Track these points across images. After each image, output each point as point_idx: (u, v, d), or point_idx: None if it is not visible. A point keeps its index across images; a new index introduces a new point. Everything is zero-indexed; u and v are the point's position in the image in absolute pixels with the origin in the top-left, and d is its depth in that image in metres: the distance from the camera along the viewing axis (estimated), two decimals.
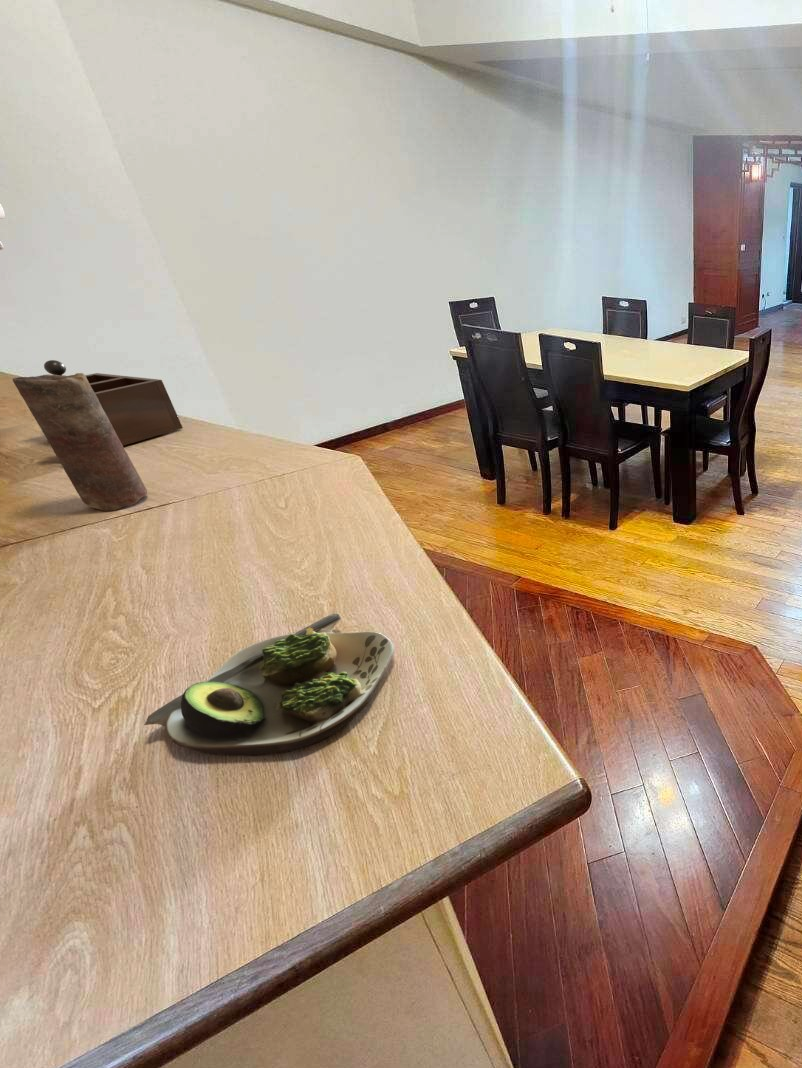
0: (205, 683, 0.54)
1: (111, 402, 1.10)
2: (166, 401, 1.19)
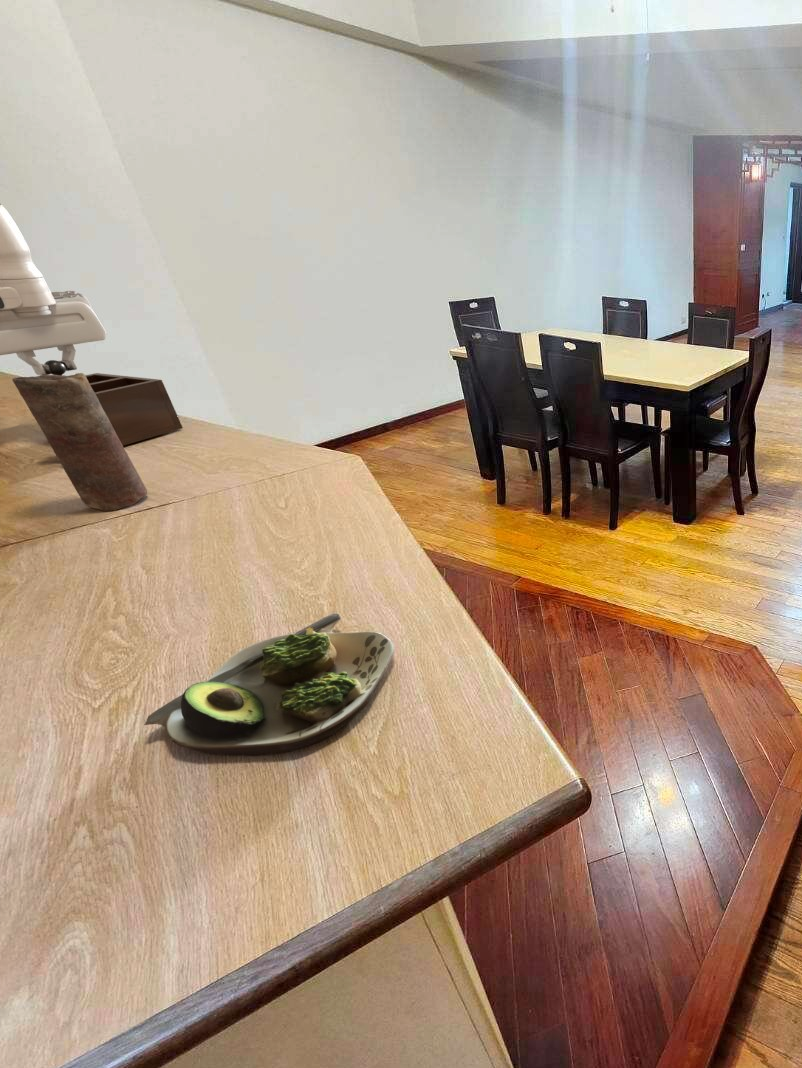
0: (205, 683, 0.54)
1: (111, 402, 1.10)
2: (166, 401, 1.19)
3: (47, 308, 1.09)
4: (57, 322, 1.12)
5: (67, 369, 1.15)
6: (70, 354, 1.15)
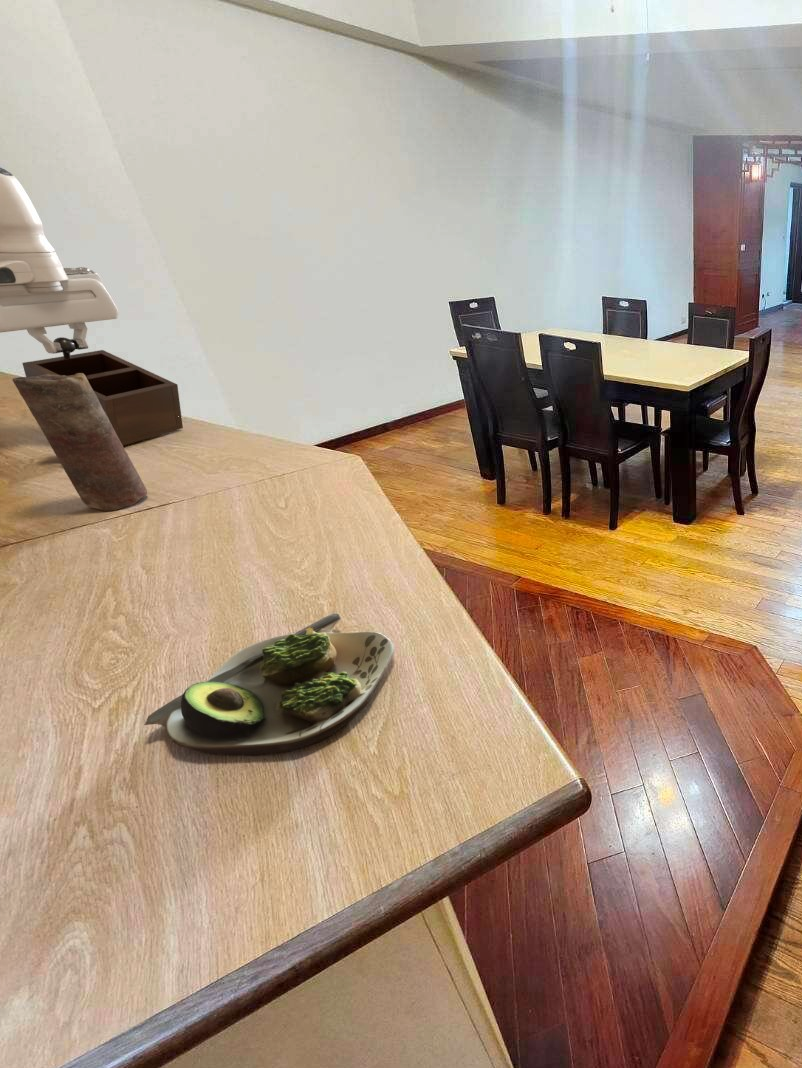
0: (205, 683, 0.54)
1: (124, 406, 1.10)
2: (175, 404, 1.19)
3: (59, 284, 1.06)
4: (69, 299, 1.09)
5: (78, 348, 1.12)
6: (82, 332, 1.12)
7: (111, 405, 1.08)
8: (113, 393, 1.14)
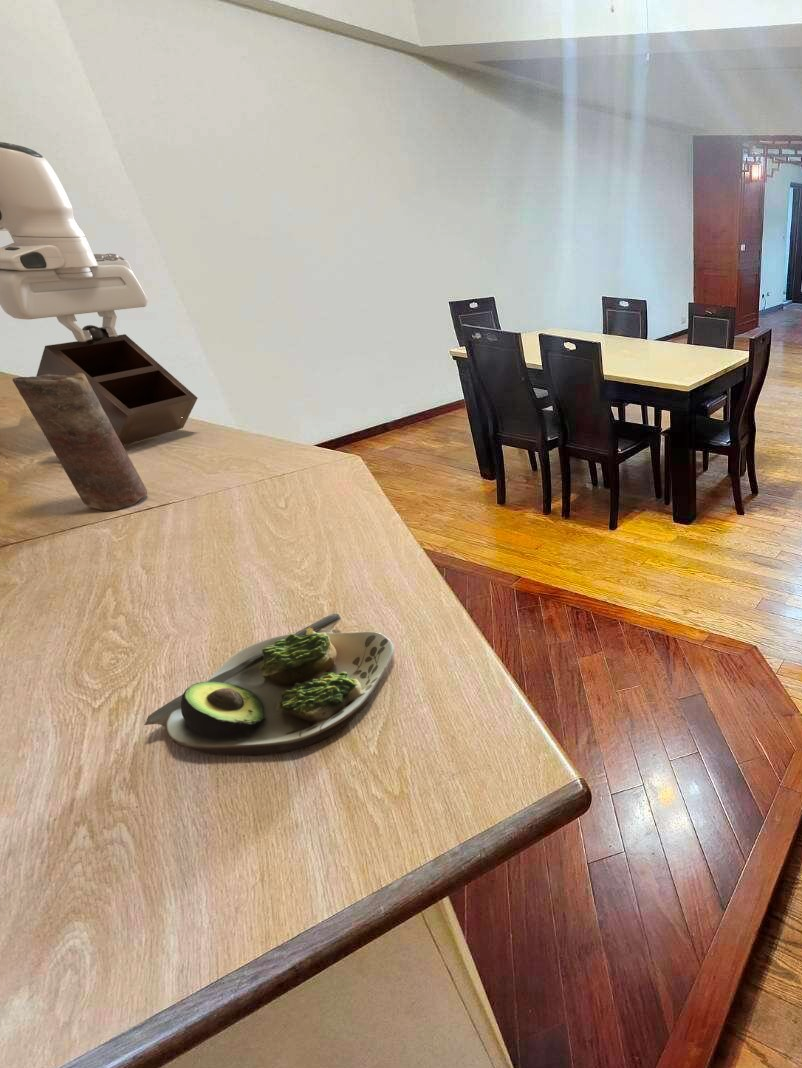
0: (205, 683, 0.54)
1: (142, 417, 1.11)
2: (187, 411, 1.19)
3: (89, 270, 1.04)
4: (98, 286, 1.06)
5: (108, 336, 1.09)
6: (111, 320, 1.09)
7: (131, 418, 1.08)
8: (127, 388, 1.13)
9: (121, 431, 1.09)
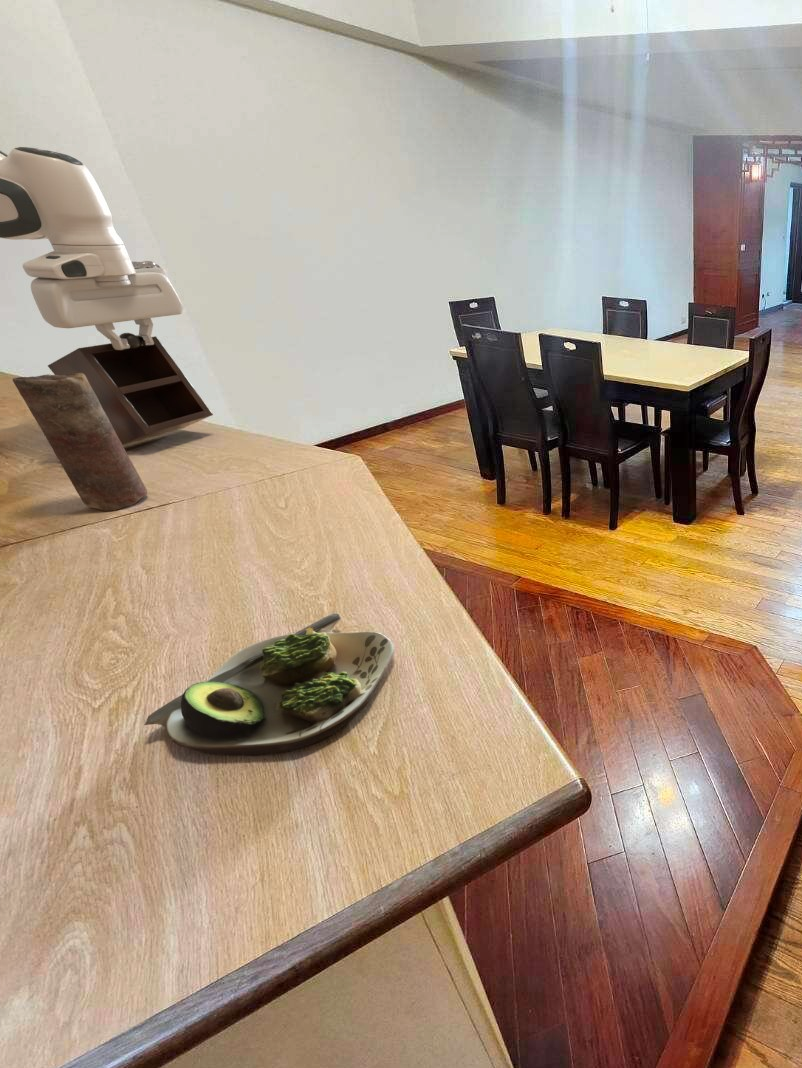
0: (205, 683, 0.54)
1: (156, 432, 1.12)
2: (196, 421, 1.20)
3: (127, 278, 1.03)
4: (136, 294, 1.05)
5: (144, 344, 1.08)
6: (148, 328, 1.08)
7: (147, 434, 1.10)
8: (144, 392, 1.13)
9: (130, 441, 1.10)
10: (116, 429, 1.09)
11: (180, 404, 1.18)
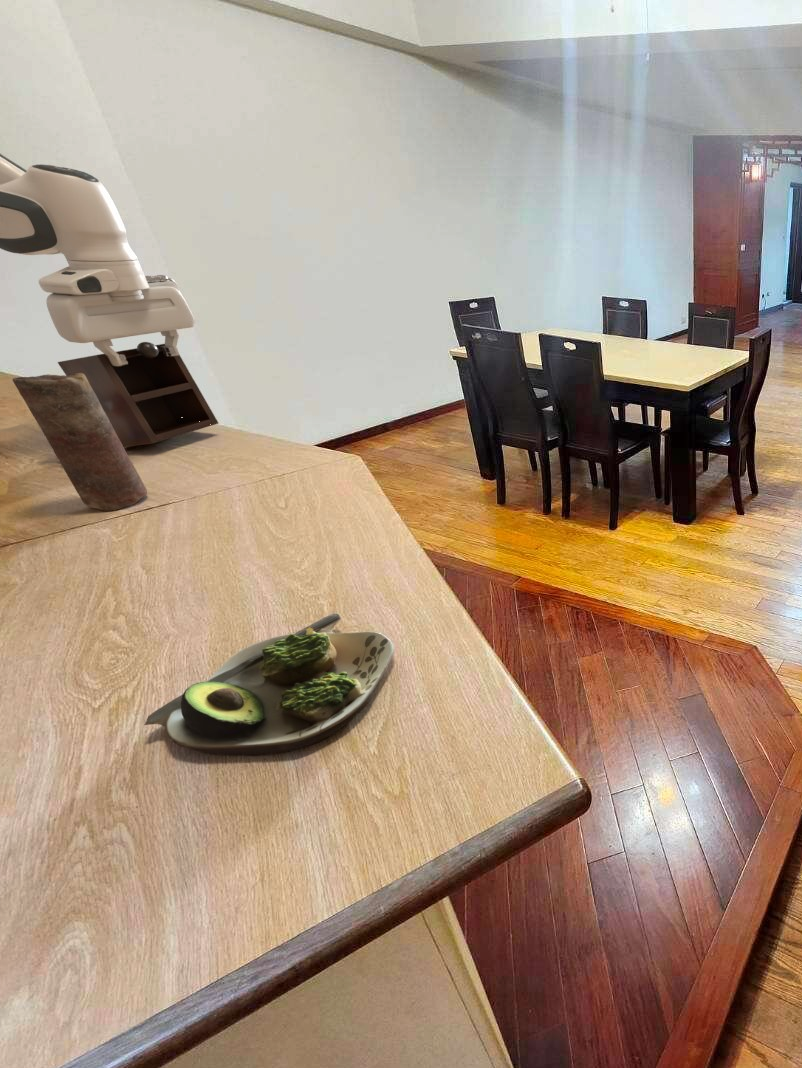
0: (205, 683, 0.54)
1: None
2: None
3: (141, 292, 1.04)
4: (149, 308, 1.06)
5: (170, 355, 1.11)
6: (174, 339, 1.11)
7: None
8: None
9: (133, 445, 1.10)
10: (120, 432, 1.09)
11: (186, 408, 1.19)
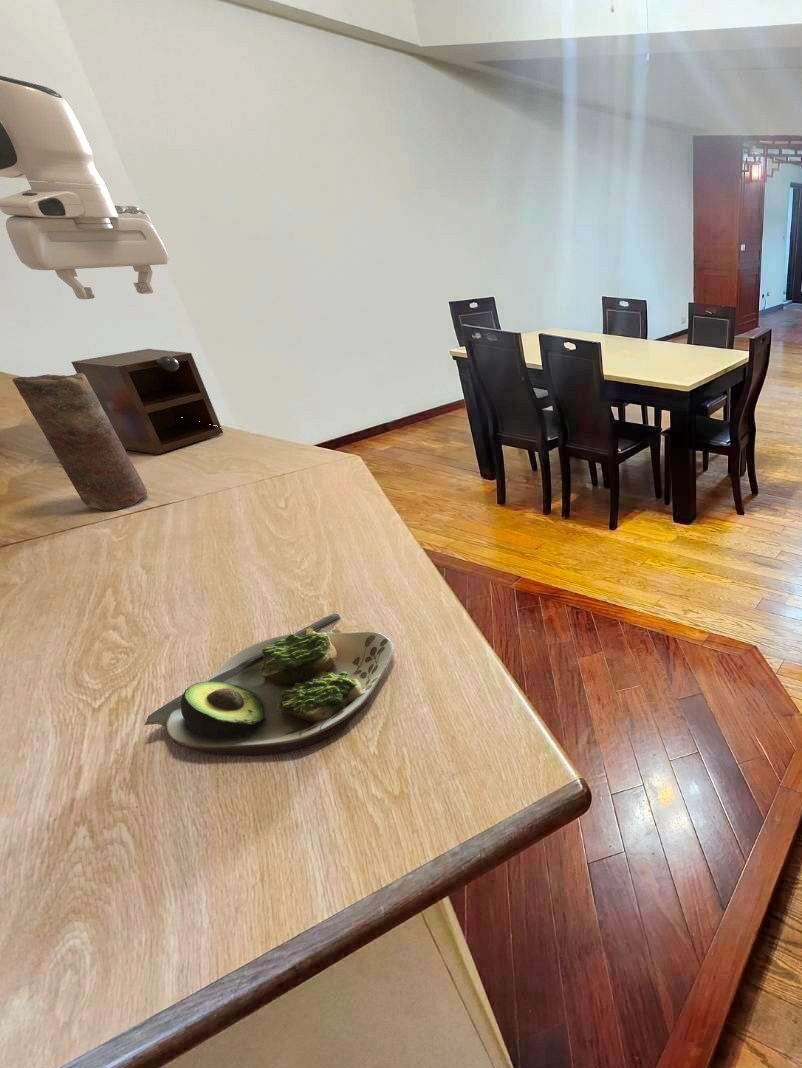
0: (205, 683, 0.54)
1: None
2: None
3: (109, 221, 0.98)
4: (119, 239, 1.01)
5: (143, 292, 1.06)
6: (147, 275, 1.06)
7: None
8: None
9: (136, 450, 1.11)
10: (125, 436, 1.10)
11: (191, 414, 1.19)
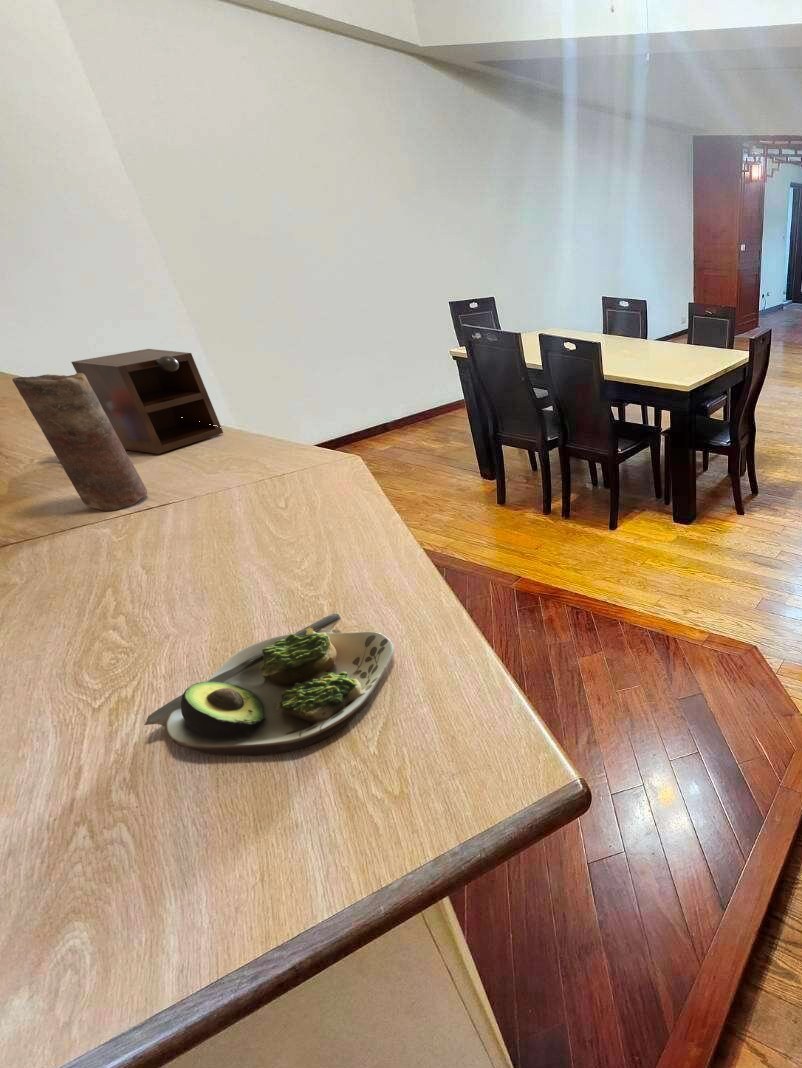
0: (205, 683, 0.54)
1: None
2: None
3: None
4: None
5: None
6: None
7: None
8: None
9: (136, 450, 1.11)
10: (125, 436, 1.10)
11: (191, 414, 1.19)
